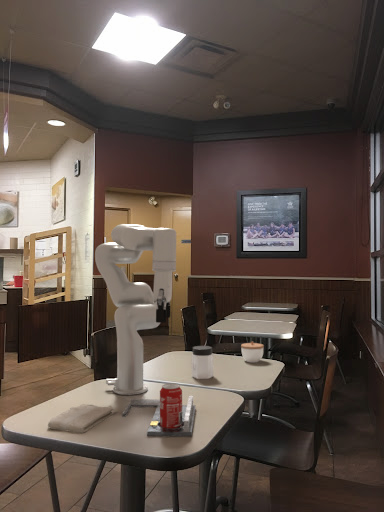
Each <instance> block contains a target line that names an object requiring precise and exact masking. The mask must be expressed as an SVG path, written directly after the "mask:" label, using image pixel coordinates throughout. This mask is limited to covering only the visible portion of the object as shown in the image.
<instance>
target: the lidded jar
mask: <svg viewBox="0 0 384 512" xmlns="http://www.w3.org/2000/svg"><path fill="white" fill-rule="evenodd" d="M264 347H265V345H264V344H262V343H257V342H254V341H251V342H248V343H247V342H246V343H241V345H240V348H241V354H242V355H241V356H242V357H243V359H244V360H245V362H247V363H253V364H254V363H259V362H260V361H261V359H262V358H263V355H264Z"/></svg>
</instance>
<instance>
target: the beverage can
mask: <svg viewBox="0 0 384 512" xmlns="http://www.w3.org/2000/svg"><path fill="white" fill-rule="evenodd" d="M159 400H160V426H159V427H161V428H165V429H176V428H181V427H183V425H182V405H183V389H182V388H181V385H180V384H178V383H173V382H172V383H171V382H170V383H164V384H162V385H161V389H160V390H159Z"/></svg>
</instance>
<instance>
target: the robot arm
mask: <svg viewBox="0 0 384 512" xmlns="http://www.w3.org/2000/svg"><path fill="white" fill-rule="evenodd" d="M110 237H111V240H112V241H113V242H105V243H101V244H100V245H99V244H98V246H97V247H96V248H95V252H94V259H95V264H96V267H97V270H98V272H99V273H100V275H101V276H102V279H103V280H104V282H105V284H106V288H107V290H108V293H109V296H110V298H111V301H112V303H113V305H114V306H115V307H116V310H115V312H114V324H115V329H116V331H115V332H116V340H117V341H116V350H117V351H116V352H117V353H116V354H117V355H116V356H117V360H116V361H117V367H116V369H117V370H116V372H117V373H116V375H117V376H116V377H115V378H106V380H105V384H106V385H107V386H113V387H112V392H113V393H115V394H117V395H124V396H132V395H139V394H143V393H145V392H147V391H148V389H149V388H148V385H147V384H145V383H144V341H143V338H142V337H141V336H140V334H139V333H138V331H140V330H149V329H151V330H152V329H156V328H157V327H158V326H159V325H160V324H161V323H162V324H163V323H165V324H166V323H167V319H169V318H170V317H171V301H172V298H173V272H177V271H176V270H177V231H176V229H174V228H167V227H165V228H164V227H158V228H155V227H154V228H153V227H147V226H145V225H144V224H143V225H141V224H128V223H127V224H125V223H121V224H118V225H116V226H114V227H113V228H112V230H111V233H110ZM144 251H147V252H148V251H152V266H151V267H152V269H151V270H152V271H151V272H154V276H153V277H154V278H153V291H152V288H151V286H150V285H149V284H148V283H146V282H140V281H139V282H131V281H130V280H129V279H128V276H127V274H126V272H125V271H124V270H123V269H122V268H121V267H119V266H118V265H117V264H119V265H122V264H124V265H125V264H127V265H128V264H135V263H137V262H138V261H140V260H139V259H140V258H141V256H142V254H143V252H144Z"/></svg>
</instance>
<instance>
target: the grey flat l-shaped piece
mask: <svg viewBox="0 0 384 512" xmlns="http://www.w3.org/2000/svg"><path fill="white" fill-rule="evenodd" d="M158 405H160V399H155V398H154V399H148V398H147V399H144V398H143V399H141V398H140V399H139V398H137V399H135V398H134V399H133V398H132V399H131V400H130V402H128V405H127V406H125V407H126V408H125V409H124V410H123V412H122V414H121V415H122V418H124V417H125V418H126V417H127V415H128V413H129V412H130V410H131V408H134V407H135V408H136V407H137V408H157V407H158Z"/></svg>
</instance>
